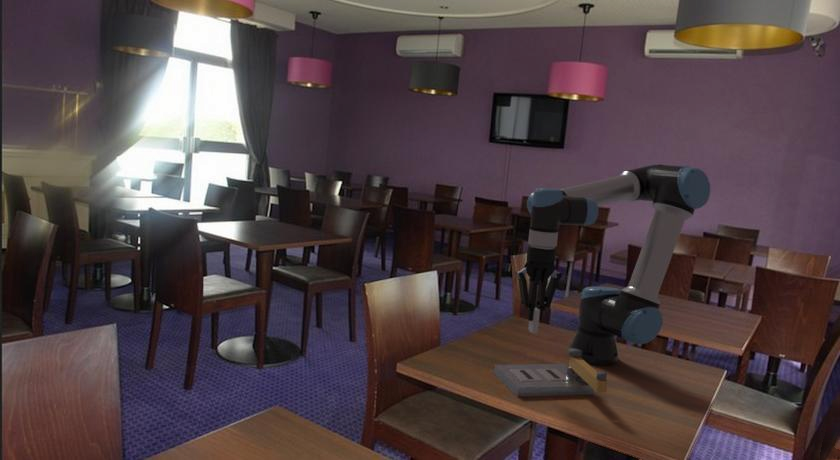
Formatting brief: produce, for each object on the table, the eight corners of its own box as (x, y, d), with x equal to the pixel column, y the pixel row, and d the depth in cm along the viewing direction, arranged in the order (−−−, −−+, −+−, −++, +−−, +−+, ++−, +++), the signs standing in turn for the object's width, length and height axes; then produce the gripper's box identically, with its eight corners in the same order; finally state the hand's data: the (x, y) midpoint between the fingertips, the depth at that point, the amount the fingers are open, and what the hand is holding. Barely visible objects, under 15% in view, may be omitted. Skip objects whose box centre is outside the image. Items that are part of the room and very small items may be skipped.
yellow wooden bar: (564, 363, 169) (566, 347, 168) (576, 363, 170) (578, 348, 169) (594, 392, 149) (597, 374, 149) (608, 392, 150) (610, 375, 149)
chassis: (563, 372, 176) (565, 357, 176) (592, 394, 161) (594, 378, 160) (493, 373, 170) (495, 357, 170) (517, 396, 155) (519, 379, 154)
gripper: (557, 244, 165) (548, 327, 168) (513, 243, 161) (505, 327, 165) (571, 249, 158) (561, 336, 161) (525, 248, 154) (516, 336, 157)
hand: (532, 331), depth 163 cm, fingers closed
